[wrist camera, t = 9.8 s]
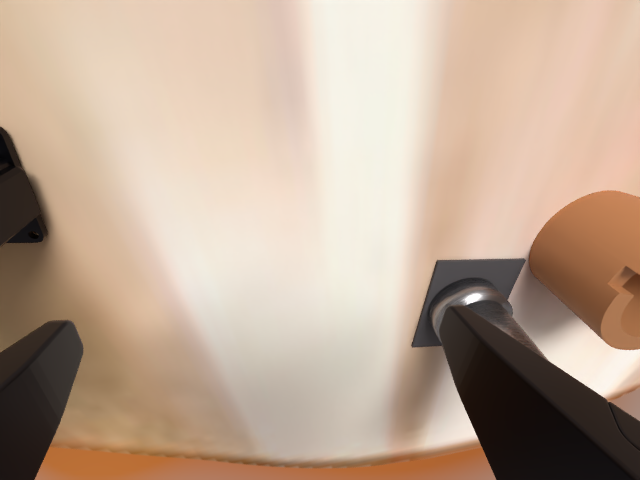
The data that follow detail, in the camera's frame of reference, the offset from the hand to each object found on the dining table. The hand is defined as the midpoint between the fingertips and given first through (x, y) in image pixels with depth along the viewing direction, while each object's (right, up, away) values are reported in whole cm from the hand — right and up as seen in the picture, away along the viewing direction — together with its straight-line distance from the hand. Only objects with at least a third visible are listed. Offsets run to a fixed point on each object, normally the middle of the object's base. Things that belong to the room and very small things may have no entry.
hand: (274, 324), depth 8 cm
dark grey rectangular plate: (+13, -3, +19) cm, 24 cm away
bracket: (+26, +1, +19) cm, 32 cm away
